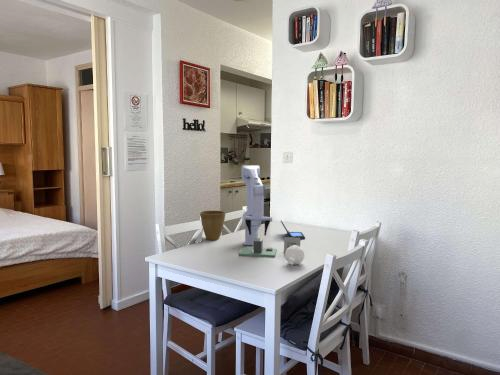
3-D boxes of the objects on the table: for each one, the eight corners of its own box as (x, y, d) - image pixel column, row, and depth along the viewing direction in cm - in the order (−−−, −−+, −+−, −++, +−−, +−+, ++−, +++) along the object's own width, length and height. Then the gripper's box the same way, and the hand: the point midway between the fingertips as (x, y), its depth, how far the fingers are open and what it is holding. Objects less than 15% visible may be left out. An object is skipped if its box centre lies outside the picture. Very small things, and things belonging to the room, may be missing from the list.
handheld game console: (305, 239, 226) (305, 224, 225) (282, 239, 226) (282, 224, 225) (301, 234, 242) (301, 219, 241) (280, 233, 242) (280, 219, 241)
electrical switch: (283, 253, 195) (283, 237, 195) (284, 252, 199) (284, 236, 199) (300, 254, 193) (300, 238, 193) (300, 253, 198) (301, 237, 198)
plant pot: (221, 242, 218) (221, 214, 216) (196, 241, 221) (196, 213, 219) (228, 236, 232) (228, 210, 231) (204, 235, 235) (204, 209, 234)
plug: (254, 249, 199) (255, 238, 198) (262, 249, 198) (262, 238, 198) (253, 252, 193) (253, 240, 192) (261, 253, 192) (261, 241, 192)
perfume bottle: (285, 256, 184) (279, 266, 173) (290, 239, 181) (285, 248, 170) (302, 262, 182) (297, 273, 171) (308, 246, 179) (303, 256, 168)
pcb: (242, 249, 203) (242, 242, 203) (276, 250, 201) (276, 244, 200) (238, 255, 191) (238, 248, 191) (274, 257, 189) (275, 250, 188)
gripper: (242, 209, 191) (242, 236, 192) (271, 210, 189) (271, 237, 190) (244, 207, 198) (244, 233, 199) (272, 207, 196) (272, 234, 197)
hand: (257, 234), depth 195 cm, fingers open, 7 cm apart
